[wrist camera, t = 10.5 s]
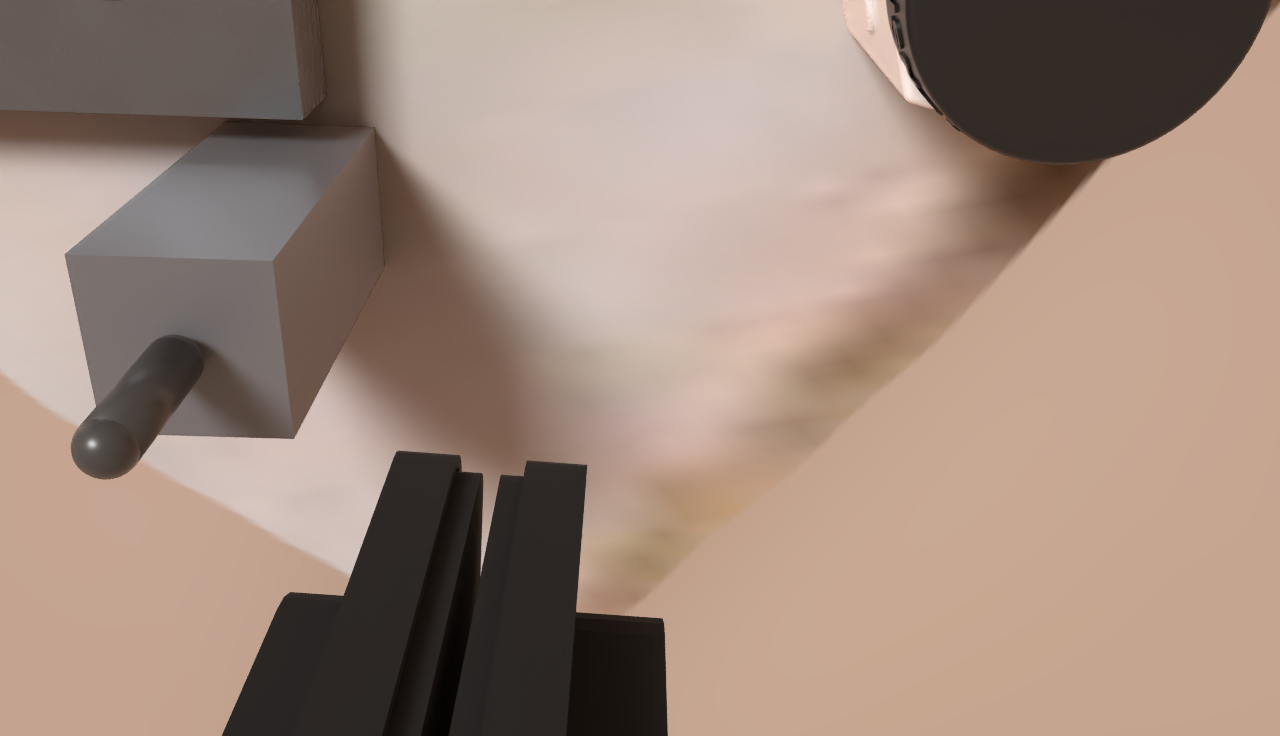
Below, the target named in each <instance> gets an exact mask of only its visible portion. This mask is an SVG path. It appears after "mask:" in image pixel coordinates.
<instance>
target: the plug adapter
mask: <svg viewBox="0 0 1280 736" xmlns="http://www.w3.org/2000/svg"><path fill="white" fill-rule="evenodd" d="M65 258H66V263H67V268H68V273H69V278H70V282H71V287H72V292H73V297H74V302H75V306H76V311H77V316H78V321H79V326H80V331H81V335H82V340H83V345H84V350H85V355H86V359H87V364H88V369H89V374H90V379H91V384H92V388H93V393H94V398H95V403H96V408H95V409H94V410H93V411H92V412H91V414H90V415H89V416H88V417H87V418H86V419H85V421H84V422H83V423H82V424H81V425H80V426H79V428H78V429H77V430H76V432H75V434H74V436H73V438H72V443H71V453H72V457H73V460H74V462H75V464H76V465H77V466H78V468H79V469H81V470H82V471H83V472H84V473H86V474H87V475H89V476H91V477H94V478H98V479H114V478H118V477H120V476H122V475H124V474H126V473H128V472H129V471H130V470H131V469H132V468H133V467H134V466H135V465H136V464H137V463H138V461H139V460H140V459H141V457H142V456H143V455H144V453H145V452H146V450H147V449H148V448H149V446H150V445H151V444H152V442H153V441H154V440H155V438H156V437H157V435H180V436H215V437H249V438H283V439H294V438H295V436H296V434H297V432H298V430H299V428H300V426H301V424H302V422H303V421H304V419H305V417H306V415H307V413H308V411H309V409H310V407H311V405H312V403H313V401H314V400H315V398H316V396H317V394H318V392H319V390H320V388H321V386H322V384H323V382H324V380H325V379H326V377H327V375H328V373H329V371H330V369H331V367H332V365H333V363H334V361H335V359H336V358H337V356H338V354H339V352H340V350H341V348H342V346H343V344H344V342H345V340H346V339H347V337H348V335H349V333H350V331H351V329H352V327H353V325H354V323H355V321H356V319H357V318H358V316H359V314H360V312H361V310H362V308H363V306H364V304H365V302H366V300H367V298H368V297H369V295H370V293H371V291H372V289H373V287H374V285H375V283H376V281H377V279H378V277H379V276H380V274H381V272H382V270H383V268H384V266H385V265H384V252H383V238H382V224H381V210H380V196H379V183H378V169H377V155H376V141H375V127H357V126H327V125H297V124H266V123H236V122H224V123H223V124H222V125H220V126H219V127H218V128H217V129H215V130H214V131H213V132H212V133H211V134H209V135H208V136H207V137H206V138H205V139H203V140H202V141H201V142H200V143H199V144H197V145H196V146H195V147H194V148H193V149H191V150H190V151H189V152H188V153H187V154H185V155H184V156H183V157H182V158H180V159H179V160H178V161H177V162H176V163H174V164H173V165H172V166H171V167H170V168H168V169H167V170H166V171H165V172H164V173H162V174H161V175H160V176H159V177H158V178H156V179H155V180H154V181H153V182H151V183H150V184H149V185H148V186H147V187H145V188H144V189H143V190H142V191H141V192H139V193H138V194H137V195H136V196H135V197H133V198H132V199H131V200H130V201H129V202H127V203H126V204H125V205H124V206H123V207H121V208H120V209H119V210H118V211H116V212H115V213H114V214H113V215H112V216H110V217H109V218H108V219H107V220H106V221H104V222H103V223H102V224H101V225H100V226H98V227H97V228H96V229H95V230H94V231H92V232H91V233H90V234H89V235H88V236H86V237H85V238H84V239H83V240H81V241H80V242H79V243H78V244H77V245H75V246H74V247H73V248H72V249H71V250H69V251H68V252H67V253H66V254H65Z"/></svg>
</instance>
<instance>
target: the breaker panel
mask: <svg viewBox="0 0 1280 736" xmlns="http://www.w3.org/2000/svg"><path fill="white" fill-rule="evenodd" d="M326 96H327V95H326V84H325V73H324V62H323V51H322V40H321V29H320V18H319V7H318V0H0V110H13V111H43V112H74V113H104V114H134V115H164V116H194V117H225V118H255V119H285V120H303V119H304V118H305V117H306V116H307V115H308V114H309V113H310V112H311V111H312V110H313V109H314V108H315V107H316V106H317V105H318V104H319V103H320V102H321V101H322V100H323V99H324V98H325V97H326Z"/></svg>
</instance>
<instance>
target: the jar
mask: <svg viewBox="0 0 1280 736" xmlns="http://www.w3.org/2000/svg"><path fill="white" fill-rule="evenodd" d="M1271 1H1272V0H842V4H843V9H844V15H845V21H846V26H847V29H848V31H849V32H850V33H851V34H852V35H853V37H854V38H855V39H856V40H857V42H858V43H859V44H860V45H861V46H862V48H863V49H864V50H865V51H866V52H867V54H868V55H869V56H870V57H871V58H872V60H873V61H874V62H875V63H876V65H877V66H878V67H879V68H880V69H881V71H882V72H883V73H884V74H885V75H886V77H887V78H888V79H889V80H890V82H891V83H892V84H893V85H894V86H895V88H896V89H897V90H898V91H899V92H900V94H901V95H902V96H903V97H904V98H905V100H906V101H907V102H909V103H912V104H915V105H919V106H923V107H926V108H930V109H934V110H936V112H937V113H939V114H940V115H943V114H944V115H945V116H946V119H947V121H948V122H949V123H950V124H951V125H952V126H953V127H954V128H956V129H957V130H958V131H961V132H963V133H964V134H965V135H967V136H968V137H970V138H971V139H973V140H975V141H976V142H978V143H979V144H981V145H983V146H985V147H987V148H989V149H991V150H993V151H996V152H998V153H1000V154H1003V155H1006V156H1009V157H1012V158H1016V159H1020V160H1023V161H1029V162H1034V163H1041V164H1054V165H1062V164H1080V163H1089V162H1094V161H1099V160H1104V159H1108V158H1111V157H1115V156H1118V155H1121V154H1125V153H1127V152H1129V151H1132V150H1135V149H1137V148H1140V147H1142V146H1144V145H1146V144H1148V143H1150V142H1152V141H1154V140H1156V139H1158V138H1160V137H1161V136H1163V135H1165V134H1167V133H1168V132H1170V131H1172V130H1173V129H1174V128H1176V127H1177V126H1179V125H1180V124H1182V123H1183V122H1184V121H1186V120H1187V119H1189V118H1190V117H1191V116H1192V115H1193V114H1194V113H1196V112H1197V111H1198V110H1199V109H1201V108H1202V107H1203V106H1204V105H1205V104H1206V103H1207V102H1208V101H1209V100H1210V99H1211V98H1212V97H1213V96H1214V95H1215V94H1216V93H1217V92H1218V91H1219V90H1220V89H1221V88H1222V87H1223V85H1224V84H1225V83H1226V82H1227V81H1228V79H1229V78H1230V77H1231V76H1232V74H1233V73H1234V72H1235V70H1236V69H1237V68H1238V66H1239V65H1240V64H1241V62H1242V60H1243V59H1244V58H1245V56H1246V54H1247V53H1248V51H1249V50H1250V48H1251V46H1252V45H1253V42H1254V40H1255V39H1256V37H1257V35H1258V33H1259V31H1260V29H1261V27H1262V24H1263V22H1264V20H1265V17H1266V15H1267V12H1268V10H1269V7H1270V4H1271Z"/></svg>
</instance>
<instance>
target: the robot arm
mask: <svg viewBox="0 0 1280 736" xmlns="http://www.w3.org/2000/svg"><path fill="white" fill-rule="evenodd" d="M586 474H587V465H579V464H566V463H553V462H540V461H527V462H526V467H525V472H524V477H523V476H510V475H501V478H500V482H499V487H498V492H497V497H496V502H495V507H494V512H493V517H492V522H491V527H490V532H489V537H488V542H487V547H486V552H485V557H484V562H483V567H482V572H481V577H480V570H481V539H482V508H483V475H482V473H470V472H462V466H461V458H460V455H448V454H435V453H421V452H408V451H398V452H396V454H395V456H394V459H393V461H392V464H391V467H390V470H389V472H388V475H387V478H386V481H385V483H384V486H383V489H382V492H381V494H380V497H379V500H378V503H377V505H376V508H375V511H374V514H373V516H372V519H371V522H370V525H369V527H368V530H367V533H366V536H365V538H364V541H363V544H362V547H361V549H360V552H359V555H358V558H357V560H356V563H355V566H354V569H353V571H352V574H351V577H350V580H349V582H348V585H347V588H346V591H345V593H344V596H337V595H322V594H309V593H308V594H307V593H294V592H290V593H289V594H287V595H286V596H285V597H284V598H283V600H282V602H281V603H280V605H279V607H278V609H277V611H276V613H275V615H274V618H273V620H272V622H271V625H270V627H269V629H268V632H267V634H266V636H265V638H264V640H263V643H262V645H261V647H260V650H259V652H258V654H257V657H256V659H255V661H254V663H253V666H252V668H251V670H250V673H249V675H248V677H247V679H246V682H245V684H244V686H243V688H242V691H241V693H240V696H239V698H238V700H237V702H236V704H235V707H234V709H233V711H232V714H231V716H230V718H229V721H228V723H227V725H226V727H225V730H224V732H223V734H222V736H668V733H667V699H666V662H665V632H664V622H663V619H661V618H648V617H634V616H620V615H605V614H591V613H577V612H576V603H577V590H578V578H579V565H580V552H581V539H582V526H583V513H584V500H585V487H586Z"/></svg>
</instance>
